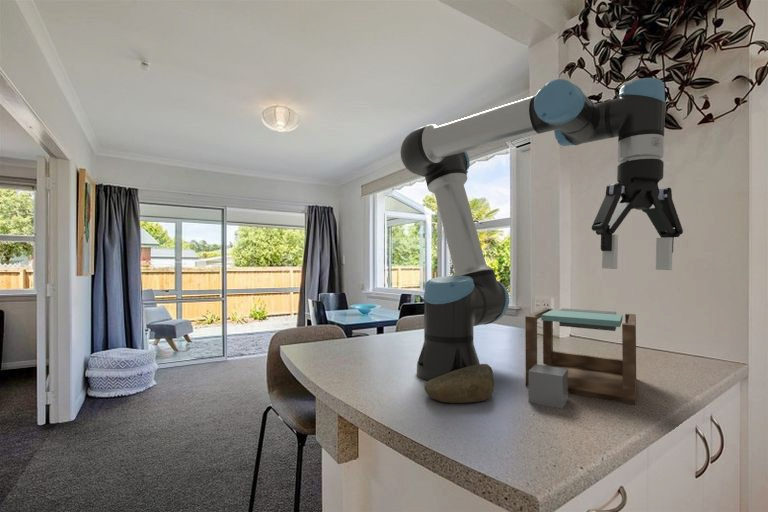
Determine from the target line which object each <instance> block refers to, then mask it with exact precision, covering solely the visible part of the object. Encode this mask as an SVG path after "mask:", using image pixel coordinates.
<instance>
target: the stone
mask: <svg viewBox="0 0 768 512" xmlns="http://www.w3.org/2000/svg"><path fill="white" fill-rule="evenodd" d="M423 387H424V391H425V393H426V395H427V396H428V397H429V398H430V399H432V400H435V401H437V402H441V403H448V404H468V403H478V402H484V401H487V400H489V399H490V398H491V397H492V395H493V392H494V388H495V375H494V372H493V368H492V367H491V365H489V364H487V363H480V364H478V365H473V366H469V367H465V368H461V369H458V370H455V371H452V372H449V373H446V374H444V375H441V376H438V377H436V378H433V379H431V380H429V381H428V380H427V381H426V382H425V384H424V386H423Z"/></svg>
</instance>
